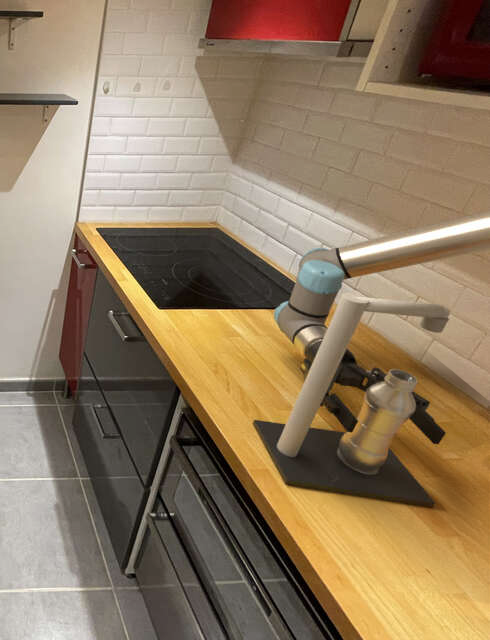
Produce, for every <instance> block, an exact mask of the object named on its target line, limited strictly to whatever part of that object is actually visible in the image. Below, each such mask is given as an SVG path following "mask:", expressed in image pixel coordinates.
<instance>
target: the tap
mask: <svg viewBox="0 0 490 640" xmlns="http://www.w3.org/2000/svg"><path fill="white" fill-rule="evenodd" d="M364 312H368V313H369V312H370V313H377V314H389V315H390V314H391V315H399V316H408V317H416V318H417V317H418V318H421V320H420V322H419V324H418V325H419V327H420V328H422V329H423V330H425V331H428V332H431V333H434V334H435V333H436V334H441V333H442V332H443V331H444V329H445V327H446V326H447V323H449V321H450V319H449V318H450V317H449V316H451V315H450V314H451V311H450V309H449V307H447V305H443V304H438V303H437V304H436V303H427V302H419V301H418V302H416V301H405V300H398V299H397V300H395V299H386V298H385V299H384V298H376V297H365V296H362V295H360V294H357V293H353V292H343V293H342V295H341V297H340V300H339V302H338V304H337V306H336V309H335V311H334V314H333V315H332V318H331V321H330V323H329V325H328V327H327V328H328V329H327V332H326V334H325V336H324V338H323V341H322V343H321V345H320V348H319V350H318V352H317V354H316V357H315V359H314V361H313V364H312V366H311V368H310V370H309V373H308V375H307V377H306V380H305V382H304V381H303V384H302V387H301V389H300V391H299V394H298V395H297V398H296V400H295V403H294V405H293V407H292V409H291V412H290V414H289V416H288V418H287V420H286V423H282V422H273V421H267V420H260V419H254V420H253V421H252V425H253V427H254V429H255V432H256V433H257V435H258V437H259V439H260V441H261V442H262V444H263V446H264V448H265V450H266V452H267V453H268V455H269V457H270V459H271V461H272V462H273V465H274V466H275V468H276V470H277V472H278V474H279V476H280V477H281V479H282V481H283V482H284V485H288V486H294V487H300V488H307V489H312V490H318V491H324V492H325V491H326V492H331V493H337V494H343V495H344V494H345V495H351V496H357V497H363V498H369V499H376V500H382V501H388V502H394V503H401V504H407V505H413V506H420V507H426V508H432V509H433V508H434V506H435V505H436V502H435V500H434V499H433V498H432V497H431V496H430V495H429V493H428V492H427V491H426V490H425V488H424V487H423V486H422V485H421V484H420V483H419V481H418V480H417V479H416V478H415V476H414V475H413V474H412V473H411V472H410V471H409V469H408V468H407V467H406V466H405V465H404V464H403V462H402V461H401V460H400V459H399V457H398V456H397V455H396V454H395V453H394V452H393V451H392V449H391V448H390V447H389V449H388V455H387V458H386V461H385V463H384V464H383V465H382V466H381V467H380V468H378V469H374V470H365V469H361V468H359V467H356V466H354V465H353V464H351V463H349V462H348V461H347V460H346V459H345V458H344V457H343V456H342V454H341V452H340V450H339V443H340V439H341V438H342V436H343V435H344V434H345V433H346V432H347V431H346V432H345V431H338V430H332V429H323V428H317V427H311V426H312V424H313V421H314V420H315V418H316V415H317V414H318V412H319V408H320V407H321V406H320V404H321V402H322V400H323V398H324V396H325V394H326V392H327V389H328V387H329V385H330V383H331V381H332V379H333V377H334V375H335V372H336V370H337V368H338V366H339V364H340V362H341V360H342V357H343V355H344V353H345V351H346V349H347V348H348V347H349V344H350V342H351V341H352V338H353V336H354V334H355V332H356V330H357V327H358V325H359V323H360V321H361V318H362V317H363V315H364Z"/></svg>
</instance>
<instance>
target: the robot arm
mask: <svg viewBox="0 0 490 640" xmlns="http://www.w3.org/2000/svg"><path fill="white" fill-rule="evenodd" d="M486 251H490V209H488V210H484V211H480V212H476V213H472V214H467V215H464V216H459V217H456V218H452V219H448V220H445V221H440V222H436V223H432V224H428V225H424V226H420V227H416V228H413V229H412V228H411V229H409V230H403V231H400V232H396V233H393V234H388V235H384V236H380V237H376V238H373V239H369V240H364V241H360V242H356V243H352V244H348V245H343V246H340V247H336V248H335V247H334V248H331V249H329V248H324V247H316V248H315V247H314V248H311V249H309V250H307V251H306V252H305V253H304V254H303V256H302V257H301V259H300V261H299V264H298V272H297V274H296V275H297V276H296V279H295V283H294V286H293V289H292V292H291V295H290V298H289V300H287V301H284V302H282V303H280V305H279V306H277V307H276V308H275V309H274V311H273V319H274V322H275V323H276V325H277V327H278V329H279V330H280V331H281V332H282V333H283V334H284V335H285V336H286V338H287V339H288V340H289V341H290V342H291V343H292V344H293V345H294V348H295V349H296V350H297V351H298V352H299V353H300V355H301V356H302V357H303V358H304V359H303V360H302V364H301V365H300V368H299V370H300V372H301V373H302V375H303V383H304V382H305V380H306V377H307V375H308V373H309V370H310V368H311V366H312V364H313V361H314V359H315V357H316V354H317V352H318V350H319V348H320V345H321V343H322V341H323V338H324V336H325V334H326V332H327V329H328V327H327V325H326V321H327V319H328V317H329V314H330V311H331V309H332V306H333V305H334V302H335V300H336V298H337V295H338V293H339V292H340V290H341V289H342V287H343V283H344V282H343V281H344V280H349V279H353V278H357V277H362V276H367V275H372V274H377V273H382V272H387V271H392V270H398V269H402V268H407V267H411V266H418V265H422V264H427V263H432V262H436V261H437V262H438V261H442V260H446V259H452V258H457V257H461V256H467V255H471V254H475V253H481V252H486ZM386 375H387V374H386V373H385V372H384V371H383V370H382V369H381V368H379V367H376V366H373V367H372V369H371V370H370V369H365V368H364V367H362V366H360V365H359V364H358V362H357V359H356V356H355V354H353V352H352V351H351V350H350V349H349V348H348V347H347V349H346V351H345V353H344V355H343V357H342V360H341V362H340V364H339V366H338V368H337V370H336V372H335V375H334V377H333V379H332V381H331V383H330V385H329V387H328V389H327V392H326V394H325V396H324V398H323V400H322V402H321V404H320V407H323V406H324V408H325V409H326V410H327V412H329V413H330V414H332V415H333V416H334V417H335V418H336V419H337V421H338V422H339V423H340V424H341V426H342V428H344V429H345V431H346V432H353V430H354V428H355V426H356V424H357V423H358V420H357V417H356V416H355V415H354V414H353V413H352V411H351V410H350V409H349V408H348V407H347V405H346V404H345V403H344V402H343V400H342V399H341V398H340V397H339V395H338V394H337V393H333V392H331V391H332V389H333V387H334V385H335V384H338V385H339V386H342V387H352V388H357V389H358V390H361V391H363V392H364V393H366V390H367V389H368V388H369V387H370V386H372V385H373V384H376V383H379V382H383V381H384V378H385V376H386ZM365 379H367V380H366V384H365V385H364V384H363V383H364V382H365ZM411 394H412V395H413V397H414V400H415V403H416V408H415V412H414V413H413V414H412V415H411V417H410V418H409V419H408V420H410V421H411V422H412V424H414V426H416V427H417V429H418V430H420V432H421V433H422V434H423V435H424V436H425V437H426V438H427V439H428V440H429V441H430V442H431V443H432V445H440V443H441V442H442V440H443V438H444V437H445V435H446V433H447V432H446V431H445V429H443V428H442V427H441V426H440V425H439V424H438V423H437V422H436V420H435V418H434V417H433V416H432V415H431V414H429V412H428V411H427V410H428V408H429V406H430V404H431V402H430V400H428V399H426V398H425V397H423V396H421V395H420V394H418V393H417V392H415V391H413V392H411Z"/></svg>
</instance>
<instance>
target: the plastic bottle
mask: <svg viewBox="0 0 490 640" xmlns="http://www.w3.org/2000/svg"><path fill="white" fill-rule="evenodd" d="M417 384H418V378H417V377H415V375H413V374H411V373H410V372H407V371H406V370H402V369H398V368H391V369H389V371H388V372H387V374H386V376H385V378H384V381H383V382H379V383H376V384H373V385H372V386H370V387H369V388H368V389H367V390H366V392H364V397H363V400H362V403H361V408H360V410H359V412H358V415H357V417H356V419H357V420H358V423H357V424H356V426H355V428H354V430H353V432H347V431H346V433H345V434H344V435H343V436H342V438H341V439H340V443H339V450H340V452H341V454H342V456H343V457H344V458H345V459H346V460H347V461H348V462H349V463H351V464H353V465H354V466H356V467H359V468H361V469H365V470H374V469H378V468H380V467H381V466H382V465H383V464H384V463H385V461H386V458H387V455H388V449H389V448H390V447H391V444H392V442H393V439H394V437H395V436H396V435H397V433H398V432H399V430H400V429H401V427H402V426H403V425H405V423H407V421H408V420H410V419H409V418H410V417H411V415H412V414H413V413H414V412H415V408H416V403H415V400H414V397H413V395H412V394H411V392H415V389H416V386H417Z"/></svg>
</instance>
